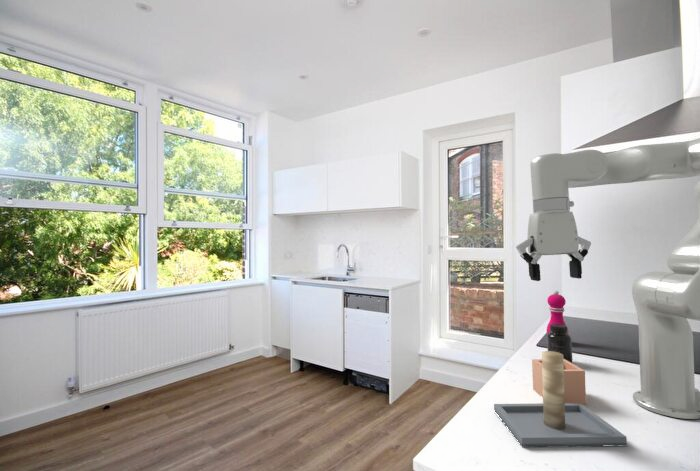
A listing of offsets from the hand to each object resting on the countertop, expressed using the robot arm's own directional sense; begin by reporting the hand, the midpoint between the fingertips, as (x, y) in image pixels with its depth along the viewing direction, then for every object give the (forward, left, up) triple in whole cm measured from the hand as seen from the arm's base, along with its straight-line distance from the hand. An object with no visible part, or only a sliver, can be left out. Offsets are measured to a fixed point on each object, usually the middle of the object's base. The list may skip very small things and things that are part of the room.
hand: (555, 279), depth 83 cm
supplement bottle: (-17, -31, -31) cm, 47 cm away
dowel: (+6, +8, -30) cm, 31 cm away
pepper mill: (-28, -52, -31) cm, 67 cm away
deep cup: (-3, -7, -31) cm, 32 cm away
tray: (+6, +8, -31) cm, 32 cm away
